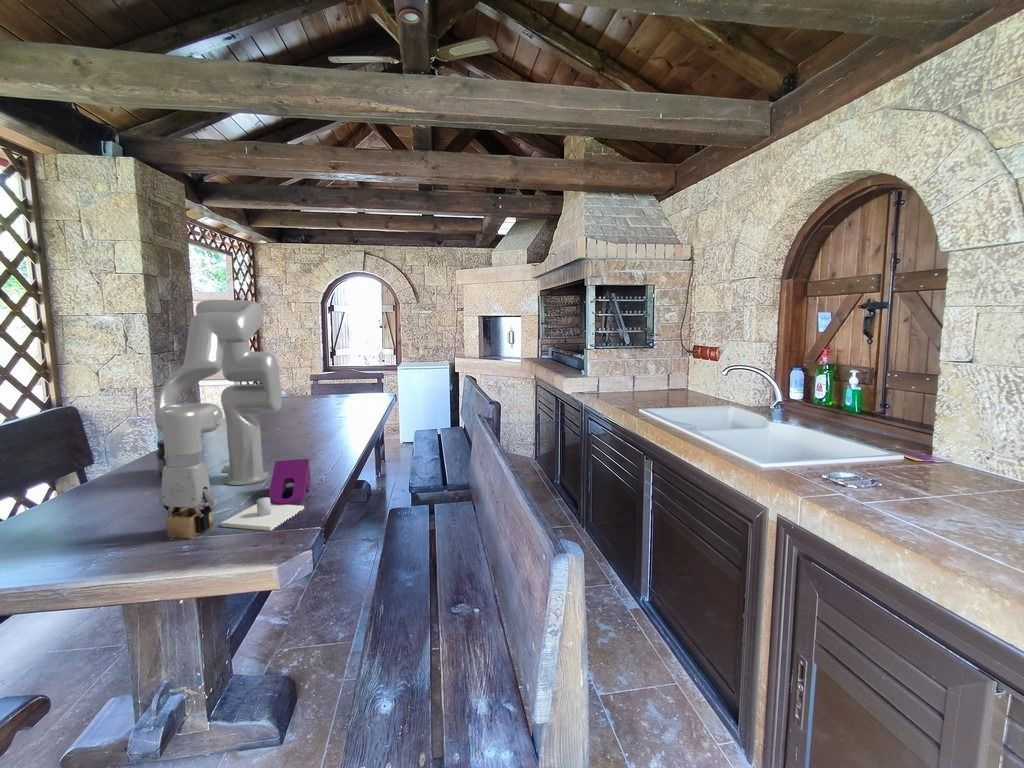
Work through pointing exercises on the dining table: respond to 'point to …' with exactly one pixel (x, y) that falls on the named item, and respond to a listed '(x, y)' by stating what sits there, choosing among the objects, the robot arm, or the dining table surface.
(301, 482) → the mounting bracket
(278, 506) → the flange
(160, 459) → the supplement container
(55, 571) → the dining table surface
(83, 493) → the dining table surface
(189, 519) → the open wooden box
